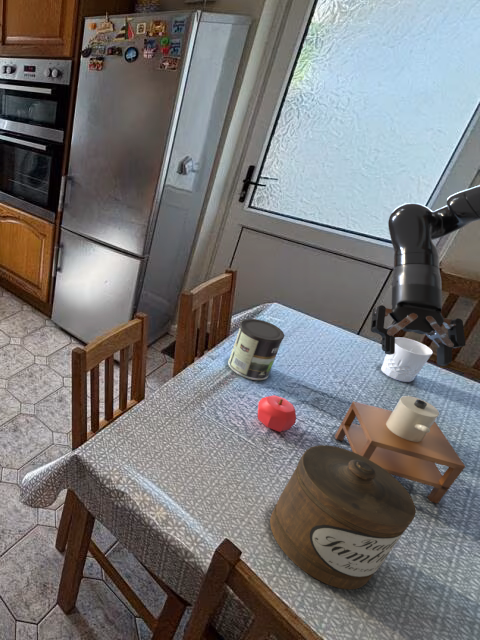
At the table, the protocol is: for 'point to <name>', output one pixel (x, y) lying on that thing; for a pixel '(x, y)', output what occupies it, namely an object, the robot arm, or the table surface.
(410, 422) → the kettle
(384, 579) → the table surface
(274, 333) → the coffee can
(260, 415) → the apple
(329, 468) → the wooden container
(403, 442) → the stand
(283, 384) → the table surface
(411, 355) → the white cup
